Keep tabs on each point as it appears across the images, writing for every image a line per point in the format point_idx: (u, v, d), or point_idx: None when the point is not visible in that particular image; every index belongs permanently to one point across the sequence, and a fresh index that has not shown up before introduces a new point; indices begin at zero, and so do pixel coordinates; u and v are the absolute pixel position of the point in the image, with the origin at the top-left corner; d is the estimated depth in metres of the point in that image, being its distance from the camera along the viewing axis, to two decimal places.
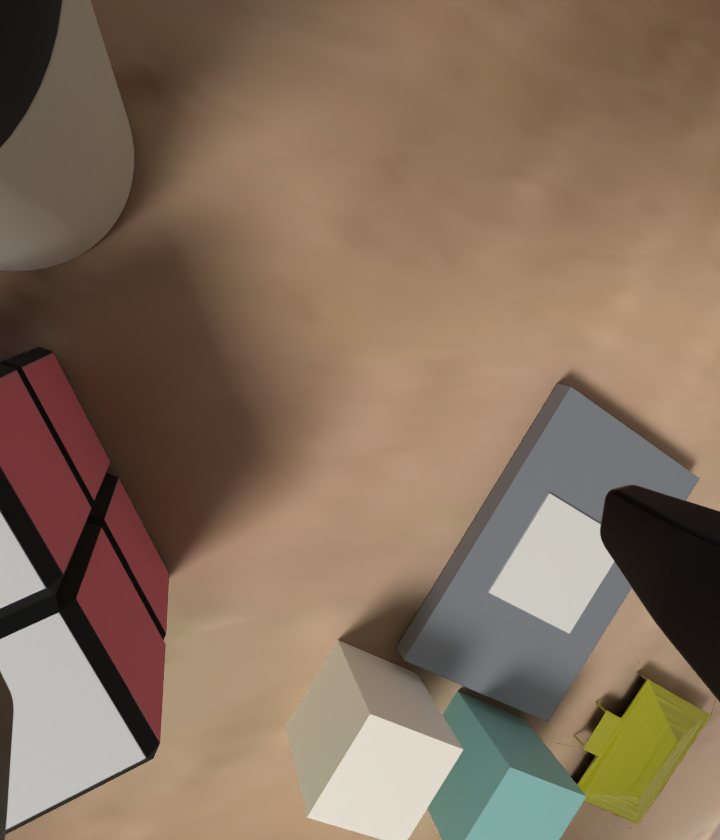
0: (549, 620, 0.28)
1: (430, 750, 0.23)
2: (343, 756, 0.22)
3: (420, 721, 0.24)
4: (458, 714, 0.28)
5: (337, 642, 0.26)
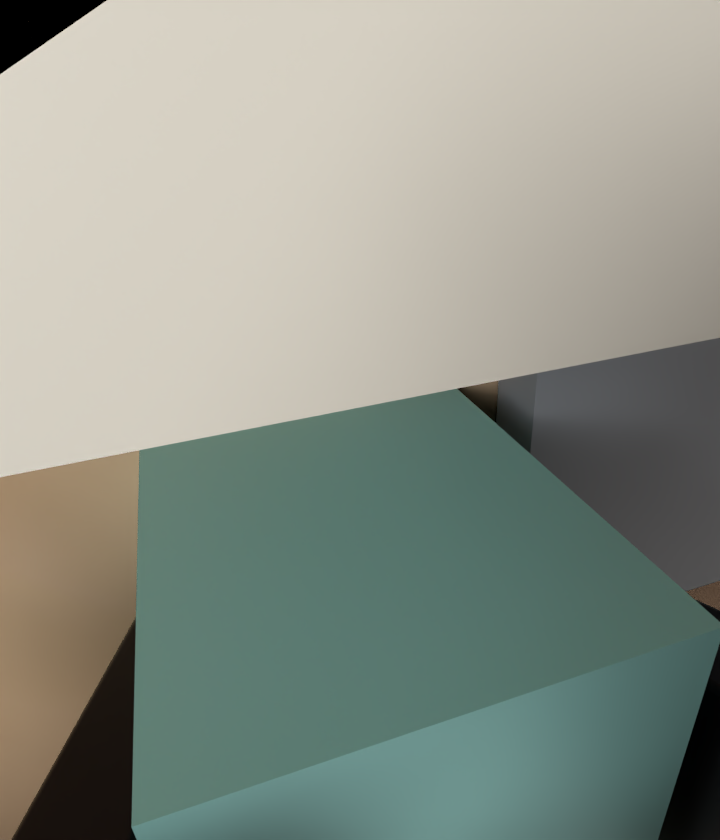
0: None
1: None
2: None
3: None
4: (438, 420, 0.08)
5: None
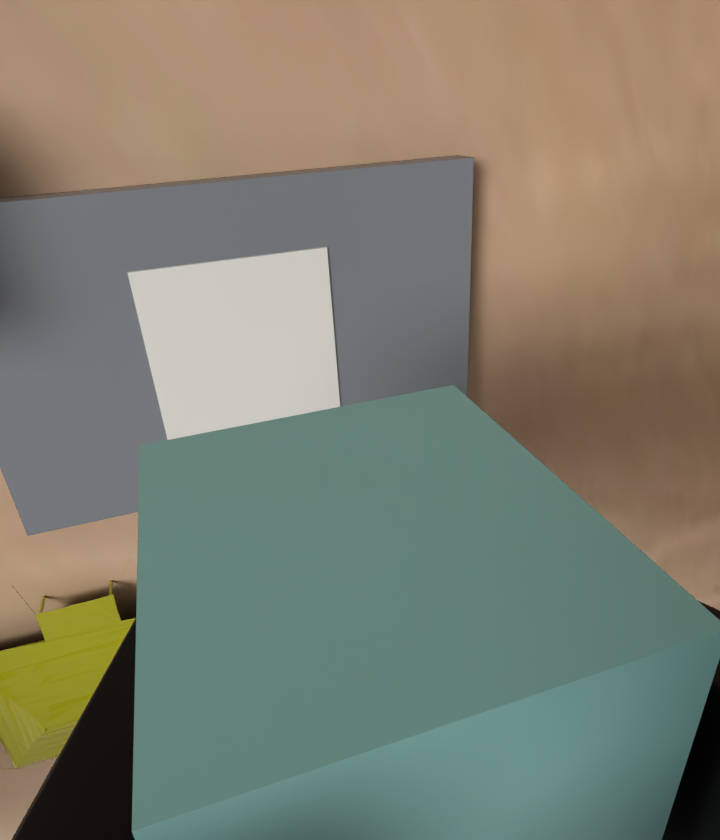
0: (163, 406, 0.17)
1: None
2: None
3: None
4: (439, 420, 0.08)
5: None
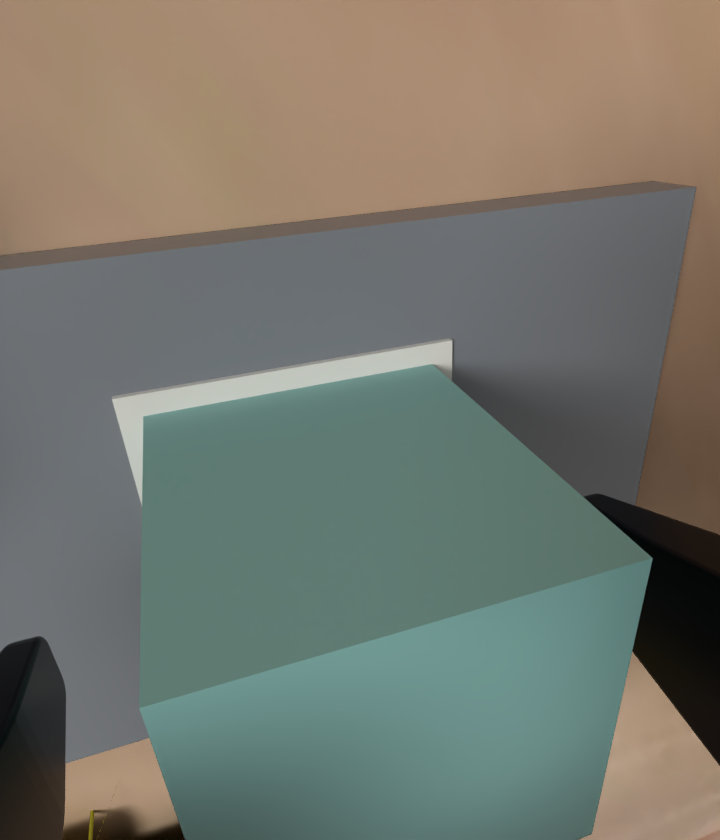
0: None
1: None
2: None
3: None
4: (416, 394, 0.09)
5: None
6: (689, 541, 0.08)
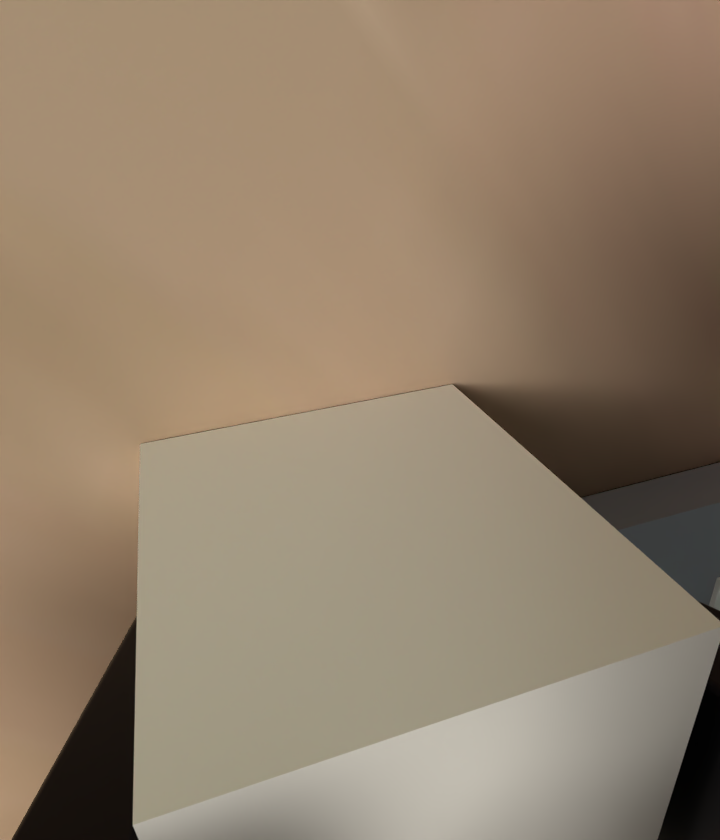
0: None
1: None
2: (507, 688, 0.04)
3: None
4: None
5: (454, 389, 0.09)
6: None
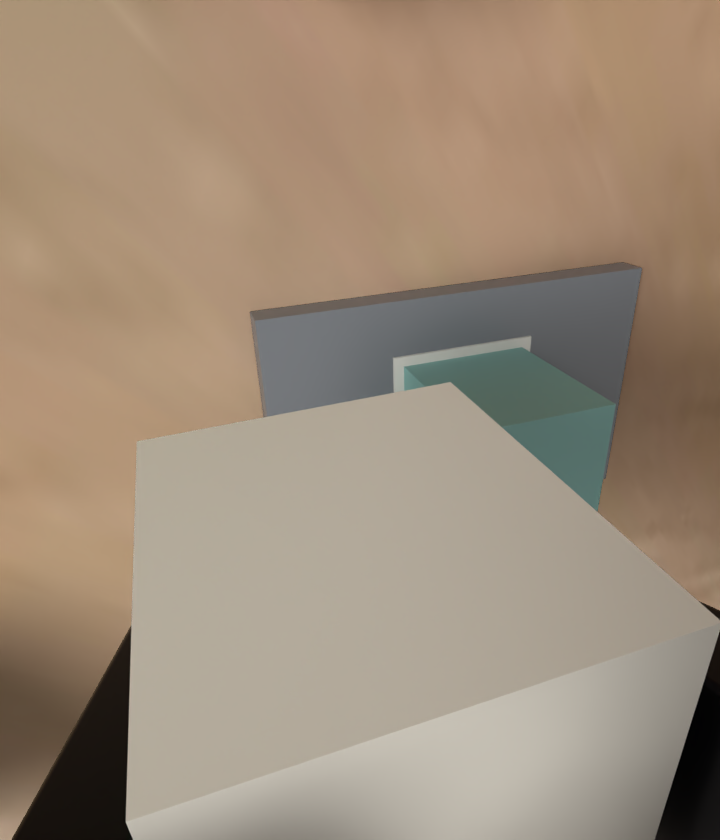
0: None
1: None
2: (502, 685, 0.04)
3: None
4: (519, 359, 0.20)
5: (452, 387, 0.09)
6: None
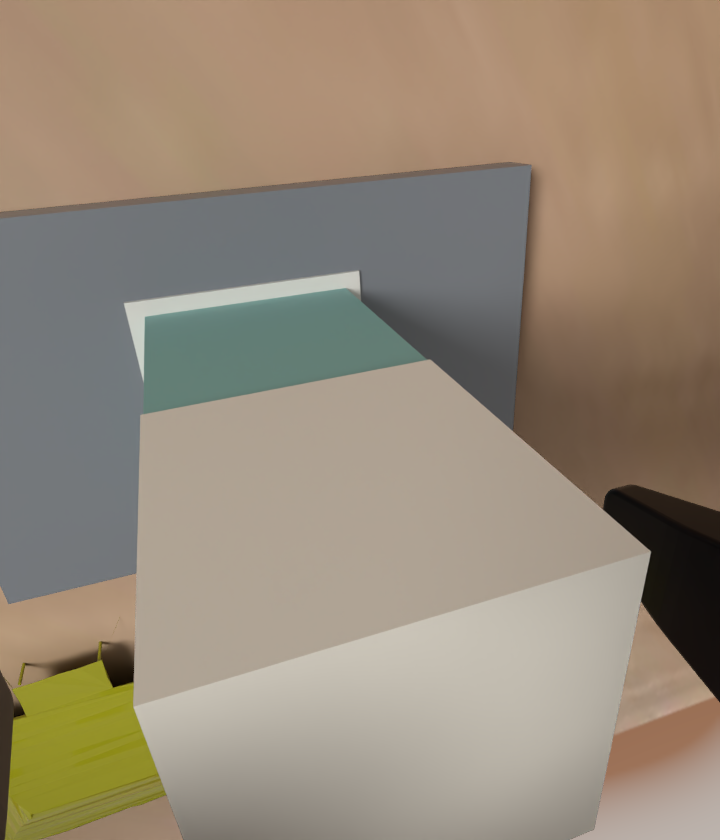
0: None
1: (570, 779, 0.07)
2: (454, 601, 0.05)
3: None
4: (328, 302, 0.13)
5: (432, 363, 0.10)
6: None
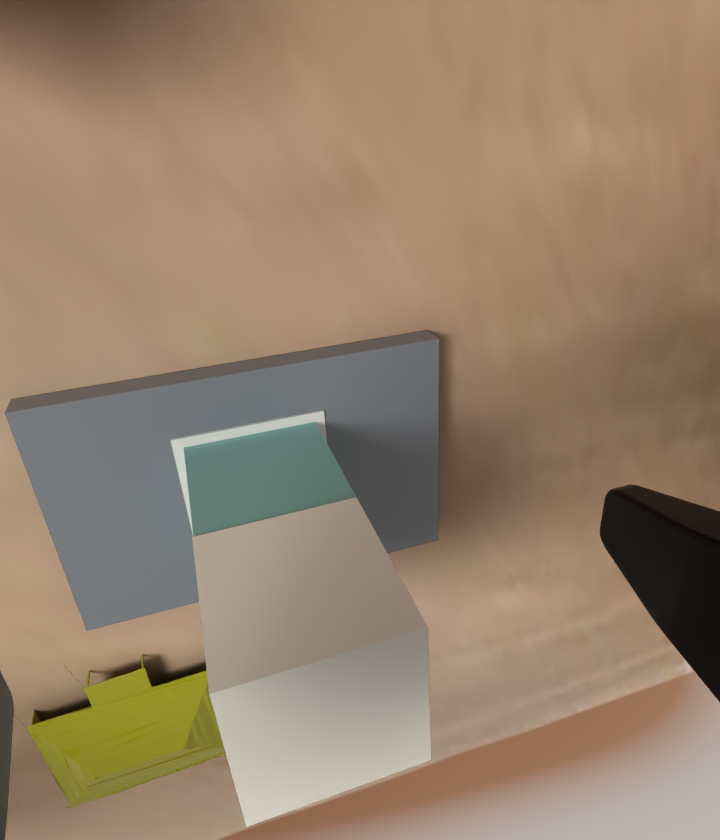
0: None
1: (410, 732, 0.14)
2: (339, 651, 0.12)
3: None
4: (302, 437, 0.20)
5: (356, 501, 0.17)
6: None
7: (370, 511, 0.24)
